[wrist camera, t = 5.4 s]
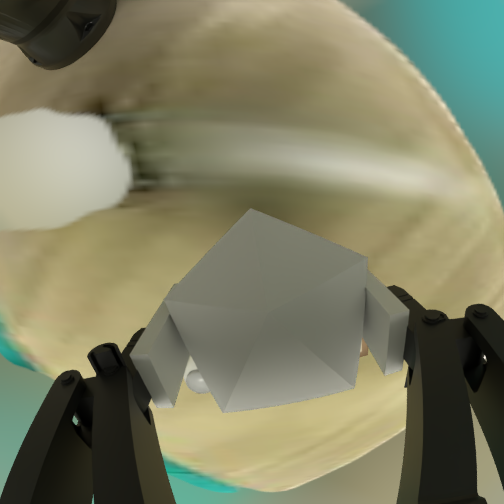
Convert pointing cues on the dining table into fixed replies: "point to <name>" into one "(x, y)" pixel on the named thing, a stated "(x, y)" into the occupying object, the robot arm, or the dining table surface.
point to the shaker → (194, 378)
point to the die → (272, 314)
